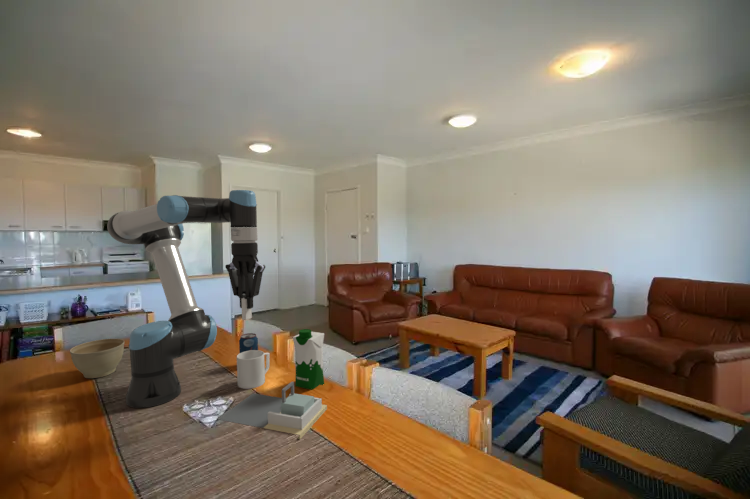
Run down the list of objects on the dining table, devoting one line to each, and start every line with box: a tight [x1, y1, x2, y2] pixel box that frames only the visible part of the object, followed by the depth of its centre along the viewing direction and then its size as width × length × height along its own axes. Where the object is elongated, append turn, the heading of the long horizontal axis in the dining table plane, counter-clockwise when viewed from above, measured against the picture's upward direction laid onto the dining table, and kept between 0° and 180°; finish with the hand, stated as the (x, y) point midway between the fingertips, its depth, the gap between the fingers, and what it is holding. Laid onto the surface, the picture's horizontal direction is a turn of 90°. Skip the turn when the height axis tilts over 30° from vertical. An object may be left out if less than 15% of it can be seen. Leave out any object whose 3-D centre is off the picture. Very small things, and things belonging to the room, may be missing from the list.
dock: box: [217, 393, 328, 440], centre depth 104 cm, size 26×16×4 cm, turn 72°
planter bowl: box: [69, 338, 125, 379], centre depth 135 cm, size 16×16×11 cm
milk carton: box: [292, 328, 325, 391], centre depth 123 cm, size 9×9×20 cm
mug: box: [236, 349, 271, 390], centre depth 125 cm, size 12×9×11 cm
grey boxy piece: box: [281, 381, 315, 417], centre depth 101 cm, size 7×6×9 cm
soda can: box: [238, 332, 259, 354], centre depth 142 cm, size 7×7×12 cm
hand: (247, 318), depth 111 cm, fingers closed
